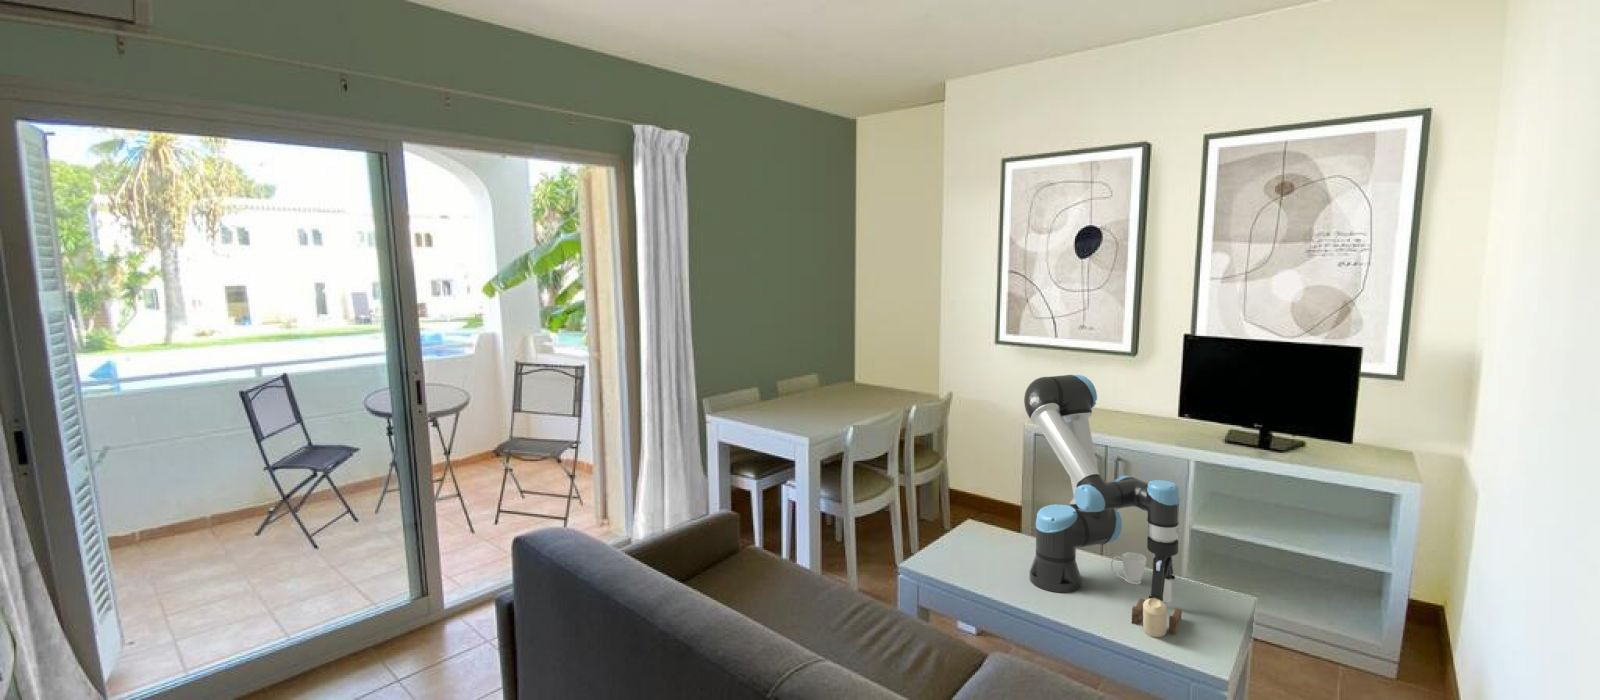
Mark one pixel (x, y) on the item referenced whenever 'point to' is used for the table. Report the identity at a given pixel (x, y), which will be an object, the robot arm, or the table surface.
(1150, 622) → the candle
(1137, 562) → the cup
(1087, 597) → the table surface
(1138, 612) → the wooden stepped bars
